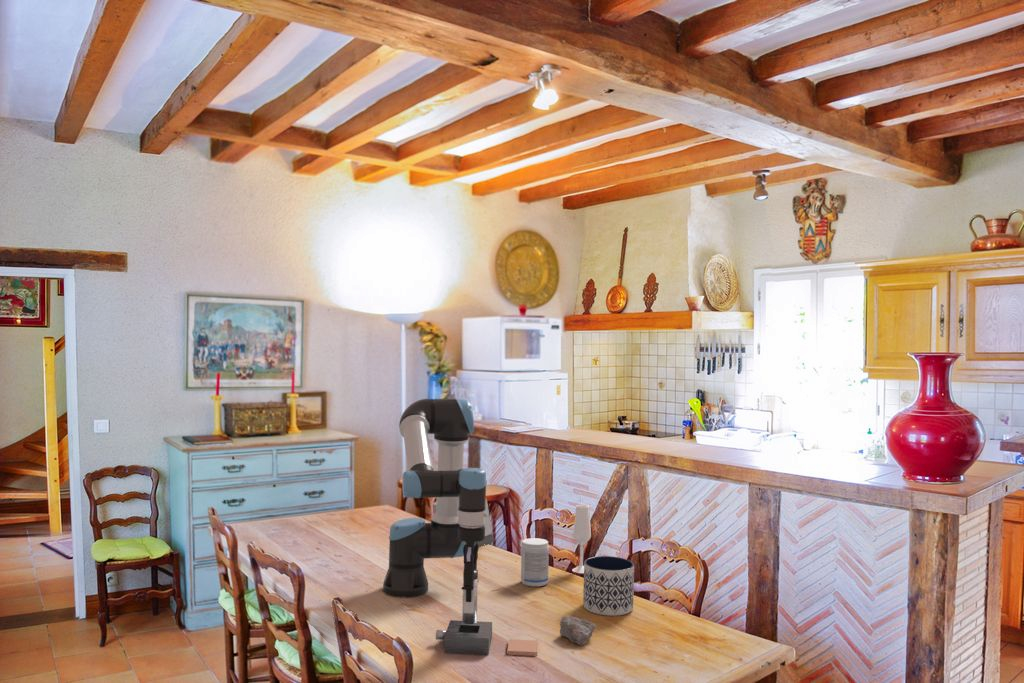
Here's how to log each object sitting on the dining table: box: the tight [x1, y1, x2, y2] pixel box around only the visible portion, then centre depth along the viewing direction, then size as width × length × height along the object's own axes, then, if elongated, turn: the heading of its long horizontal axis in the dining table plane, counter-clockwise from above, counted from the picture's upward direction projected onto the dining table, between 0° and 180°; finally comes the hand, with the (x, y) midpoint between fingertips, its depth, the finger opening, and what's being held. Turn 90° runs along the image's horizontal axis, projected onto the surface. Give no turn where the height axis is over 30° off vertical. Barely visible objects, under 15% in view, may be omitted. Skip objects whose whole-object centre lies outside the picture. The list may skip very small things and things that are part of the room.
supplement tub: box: [520, 537, 550, 588], centre depth 266 cm, size 10×10×15 cm
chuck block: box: [435, 619, 493, 656], centre depth 210 cm, size 15×12×4 cm
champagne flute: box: [571, 504, 592, 574], centre depth 282 cm, size 7×7×24 cm
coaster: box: [506, 638, 539, 657], centre depth 208 cm, size 8×8×1 cm
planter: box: [582, 555, 635, 617], centre depth 243 cm, size 16×16×14 cm
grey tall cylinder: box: [461, 569, 479, 624], centre depth 210 cm, size 4×4×14 cm
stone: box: [559, 615, 596, 646], centre depth 216 cm, size 10×8×6 cm
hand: (469, 609), depth 210 cm, fingers closed on grey tall cylinder, 4 cm apart
